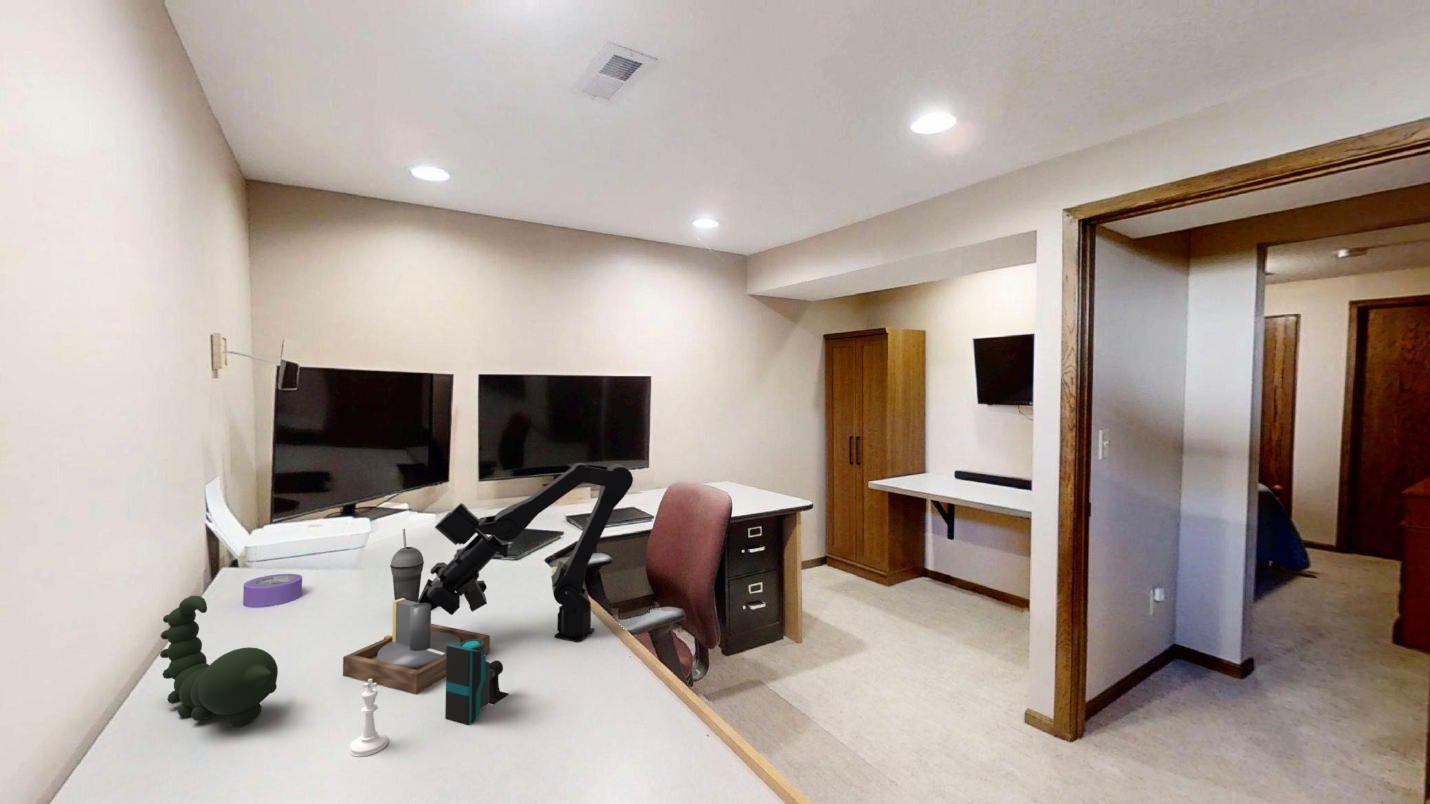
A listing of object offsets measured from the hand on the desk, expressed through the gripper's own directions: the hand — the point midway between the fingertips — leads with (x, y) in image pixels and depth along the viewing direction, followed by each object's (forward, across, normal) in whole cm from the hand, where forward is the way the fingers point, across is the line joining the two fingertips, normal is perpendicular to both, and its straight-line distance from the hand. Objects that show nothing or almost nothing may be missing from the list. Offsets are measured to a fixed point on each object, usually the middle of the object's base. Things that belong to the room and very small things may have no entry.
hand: (411, 620), depth 114 cm
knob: (+3, -4, -5) cm, 7 cm away
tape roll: (+29, +49, +19) cm, 60 cm away
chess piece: (+8, -31, -3) cm, 32 cm away
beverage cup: (+7, +27, -3) cm, 28 cm away
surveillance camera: (-3, -25, -14) cm, 29 cm away
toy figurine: (+24, -11, +14) cm, 30 cm away
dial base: (+4, -4, -6) cm, 9 cm away
